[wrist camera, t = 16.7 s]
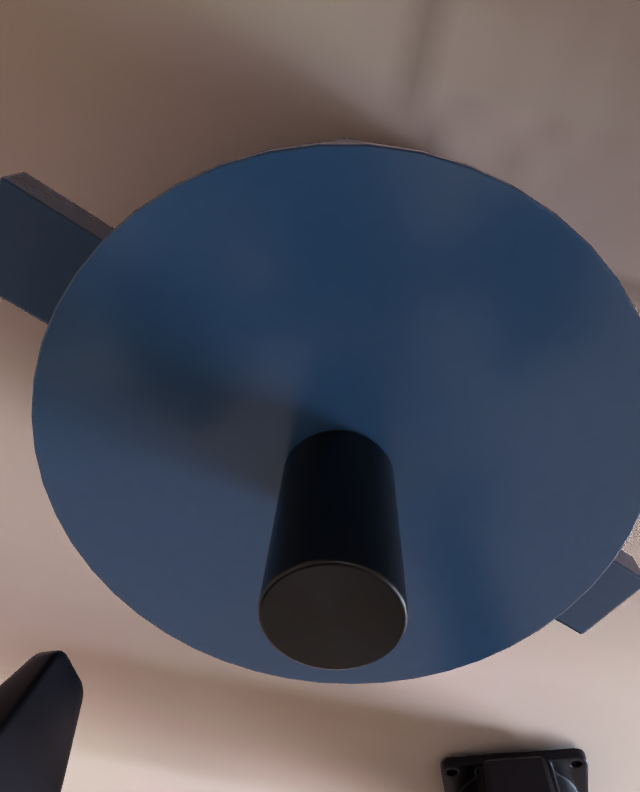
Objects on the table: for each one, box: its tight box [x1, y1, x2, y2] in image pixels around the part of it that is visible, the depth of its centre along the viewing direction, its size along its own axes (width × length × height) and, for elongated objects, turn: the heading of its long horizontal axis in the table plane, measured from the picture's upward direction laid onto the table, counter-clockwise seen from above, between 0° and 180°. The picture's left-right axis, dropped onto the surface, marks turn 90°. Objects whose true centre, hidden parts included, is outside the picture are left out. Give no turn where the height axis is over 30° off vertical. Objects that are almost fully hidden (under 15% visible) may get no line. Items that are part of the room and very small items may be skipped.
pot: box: [0, 138, 640, 634], centre depth 16 cm, size 12×18×6 cm
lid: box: [32, 142, 640, 684], centre depth 12 cm, size 13×13×5 cm
